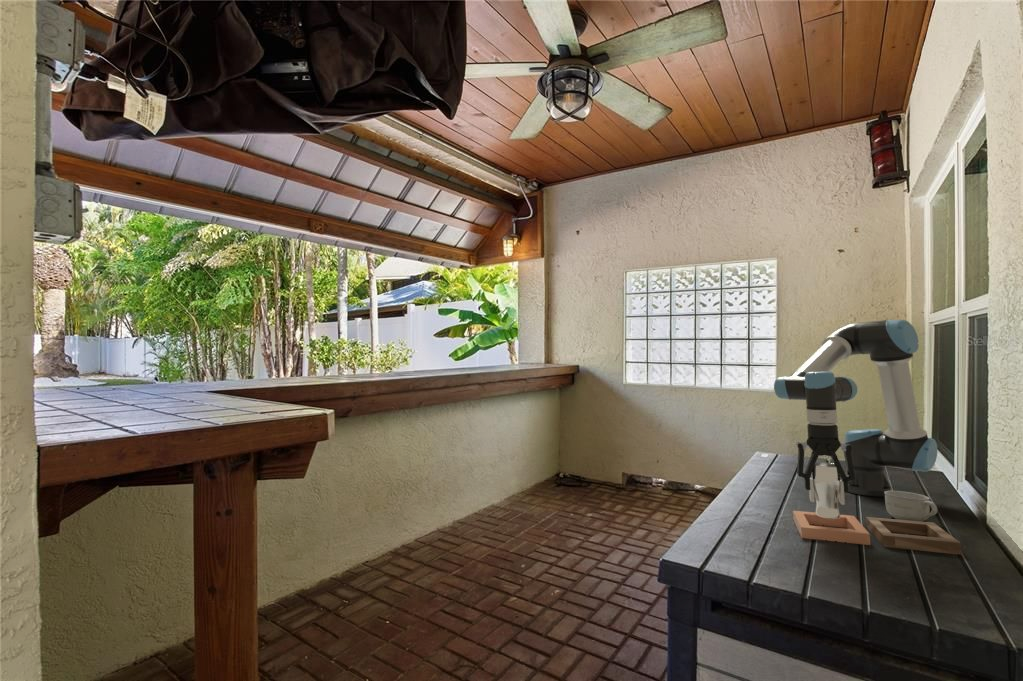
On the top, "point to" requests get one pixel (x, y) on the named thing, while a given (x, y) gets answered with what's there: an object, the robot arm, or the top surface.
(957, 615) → the top surface
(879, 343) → the robot arm
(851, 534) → the terracotta holder
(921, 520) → the teacup
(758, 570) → the top surface
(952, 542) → the walnut holder
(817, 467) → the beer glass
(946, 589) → the top surface
